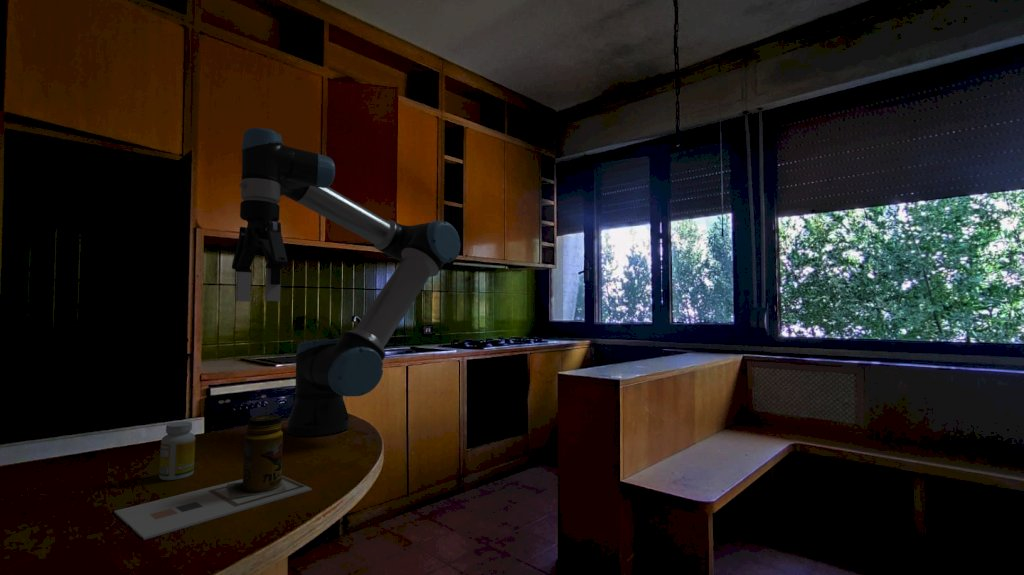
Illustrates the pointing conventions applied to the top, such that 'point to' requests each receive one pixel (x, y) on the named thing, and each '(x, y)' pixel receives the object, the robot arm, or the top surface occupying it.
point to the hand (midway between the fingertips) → (257, 301)
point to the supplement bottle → (177, 452)
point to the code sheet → (197, 508)
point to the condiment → (261, 458)
